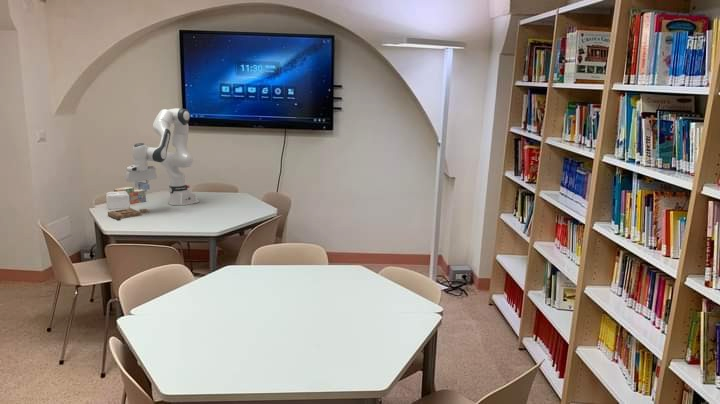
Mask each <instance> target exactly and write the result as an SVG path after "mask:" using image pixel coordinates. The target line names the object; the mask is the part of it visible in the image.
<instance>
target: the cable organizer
mask: <svg viewBox="0 0 720 404" xmlns="http://www.w3.org/2000/svg"><path fill="white" fill-rule="evenodd" d="M105 197H106V200H105V201H106V208H107V210H109V211H113V210H122V209H129V208H131V207H130V206H131V204H130V201H129V195H128V194H127V192H125V191H121V192H114V191H109V192H106V194H105Z"/></svg>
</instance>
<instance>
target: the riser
mask: <svg viewBox="0 0 720 404" xmlns="http://www.w3.org/2000/svg"><path fill="white" fill-rule="evenodd" d="M139 212H141V214H145V213H149V209H148V208H141V209H139Z"/></svg>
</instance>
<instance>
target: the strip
mask: <svg viewBox="0 0 720 404" xmlns="http://www.w3.org/2000/svg"><path fill="white" fill-rule="evenodd" d="M138 184H139V185H140V187H137V185H136V184H135V183H134V187H135V188H137V190H141V189H143V190H144V192H145V193H147V192H148V191H147V190H150V183H148V184H147V183H146V182H143V181H138Z"/></svg>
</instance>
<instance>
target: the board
mask: <svg viewBox="0 0 720 404" xmlns="http://www.w3.org/2000/svg"><path fill="white" fill-rule="evenodd" d="M107 216H108V217H109V218H111V219H113V220H116V221H121V220H122V219H123V220H124V219H128V218H129V219H130V218H133V217H140V216H142V213H141V212H140V210H136V209H134V208H132V207H129V208H126V209H115V210H109V211H107Z"/></svg>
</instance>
